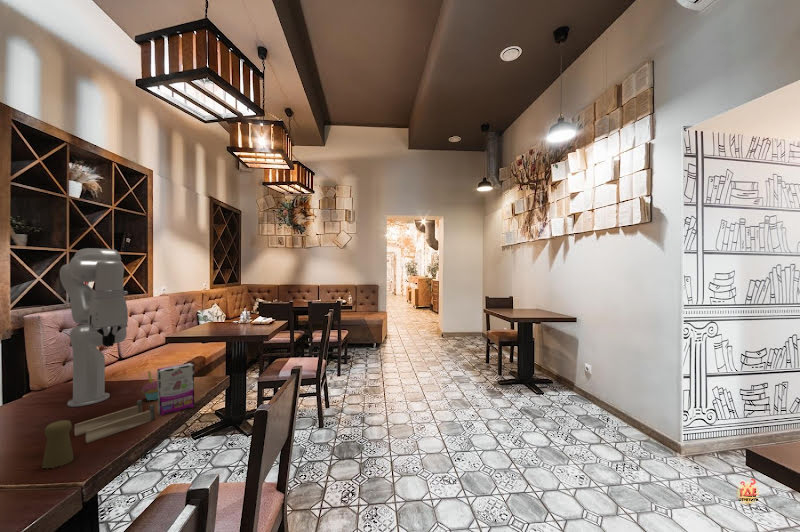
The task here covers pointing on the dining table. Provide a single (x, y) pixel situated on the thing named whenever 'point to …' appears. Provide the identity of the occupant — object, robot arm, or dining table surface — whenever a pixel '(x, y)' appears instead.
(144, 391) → the cupcake
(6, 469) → the dining table surface
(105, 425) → the chute
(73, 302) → the robot arm
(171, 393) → the candy bar box
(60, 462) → the cork
